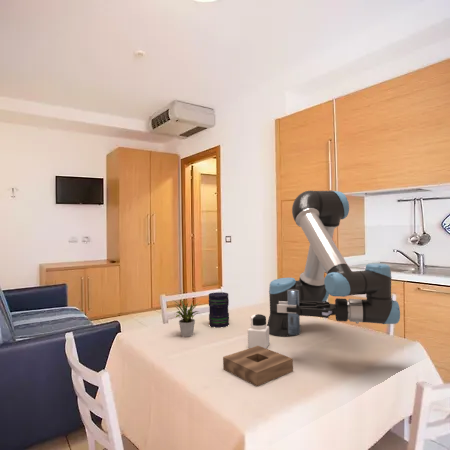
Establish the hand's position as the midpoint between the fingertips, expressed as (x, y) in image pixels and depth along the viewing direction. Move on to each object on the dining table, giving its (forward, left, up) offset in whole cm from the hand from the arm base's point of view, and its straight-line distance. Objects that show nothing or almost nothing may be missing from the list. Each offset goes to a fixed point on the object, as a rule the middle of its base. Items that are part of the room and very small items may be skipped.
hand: (278, 306), depth 117 cm
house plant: (-46, -12, -18) cm, 51 cm away
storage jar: (-48, +9, -18) cm, 52 cm away
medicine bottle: (-14, +3, -18) cm, 23 cm away
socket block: (+2, -13, -18) cm, 22 cm away
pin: (+4, +3, -9) cm, 10 cm away
